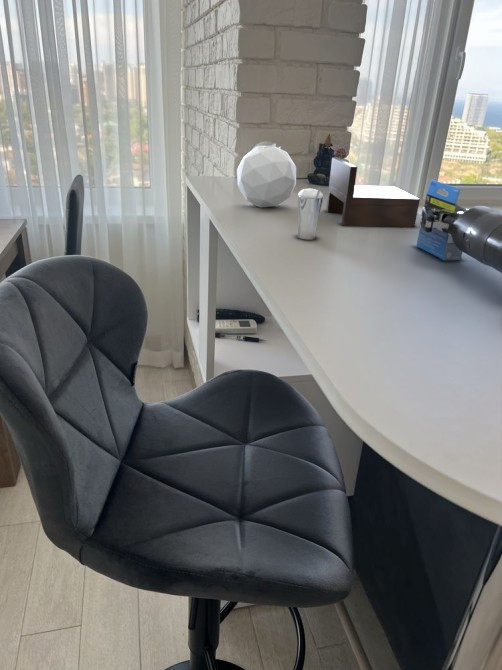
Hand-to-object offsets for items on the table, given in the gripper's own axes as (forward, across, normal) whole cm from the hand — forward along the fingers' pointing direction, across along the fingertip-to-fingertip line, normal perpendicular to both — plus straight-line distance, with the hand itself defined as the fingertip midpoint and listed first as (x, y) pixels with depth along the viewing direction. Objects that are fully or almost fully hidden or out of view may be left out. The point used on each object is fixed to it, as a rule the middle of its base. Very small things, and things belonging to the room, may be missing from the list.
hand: (438, 211), depth 91 cm
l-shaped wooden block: (+23, +4, +7) cm, 25 cm away
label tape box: (-3, 0, +7) cm, 8 cm away
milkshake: (+6, +22, +7) cm, 24 cm away
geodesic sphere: (+34, +26, +7) cm, 44 cm away
